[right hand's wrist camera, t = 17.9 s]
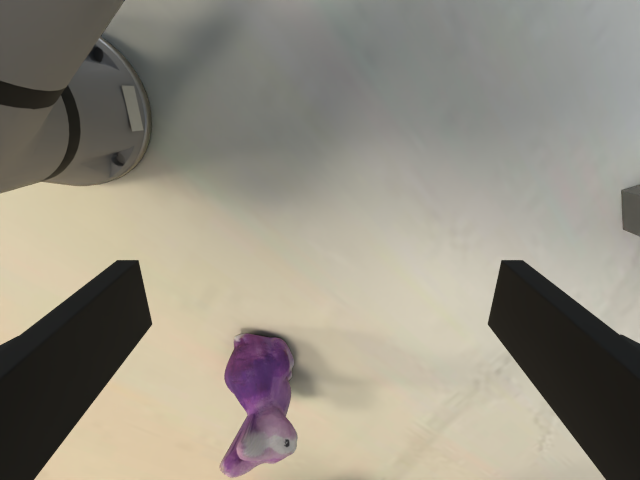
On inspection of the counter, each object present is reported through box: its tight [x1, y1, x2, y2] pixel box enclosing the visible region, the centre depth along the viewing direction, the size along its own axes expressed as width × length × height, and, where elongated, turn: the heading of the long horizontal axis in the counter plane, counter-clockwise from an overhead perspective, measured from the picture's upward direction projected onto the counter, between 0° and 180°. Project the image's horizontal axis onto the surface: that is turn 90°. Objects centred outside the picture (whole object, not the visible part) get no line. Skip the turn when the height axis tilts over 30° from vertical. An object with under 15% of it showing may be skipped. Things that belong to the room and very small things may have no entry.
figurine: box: [220, 333, 297, 477], centre depth 40 cm, size 9×10×15 cm
